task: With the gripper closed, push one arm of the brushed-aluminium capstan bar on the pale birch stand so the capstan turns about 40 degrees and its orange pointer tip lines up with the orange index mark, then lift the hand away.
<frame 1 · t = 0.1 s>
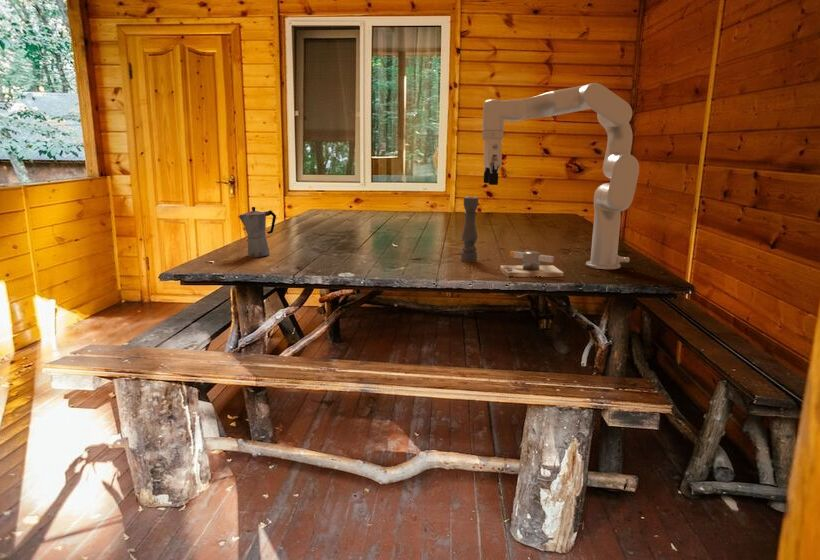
hand: (490, 183, 206), 31 cm above the table, fingers open, 9 cm apart
capstan: (531, 260, 203), point 5 cm above the table, hinge at -40.0°
stand: (530, 272, 204), on the table
moka pot: (259, 255, 231), on the table
candle holder: (468, 260, 225), on the table
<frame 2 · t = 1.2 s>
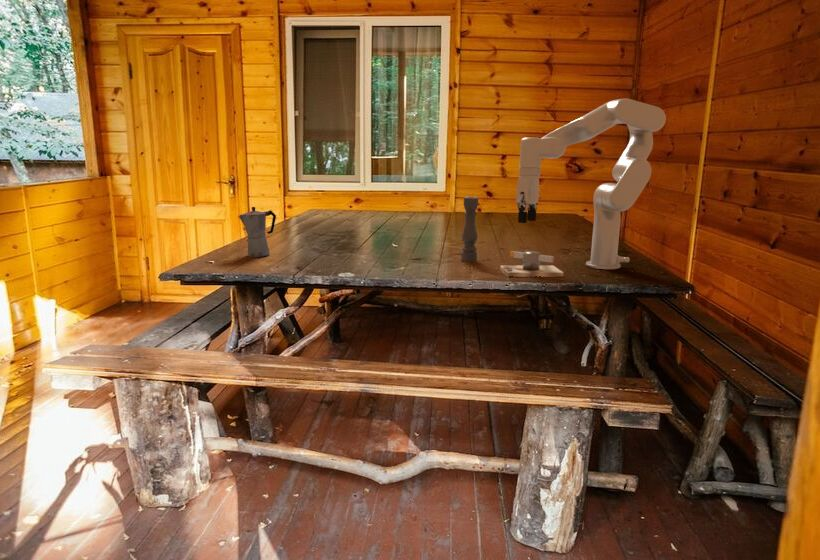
hand: (526, 221, 208), 18 cm above the table, fingers open, 6 cm apart
nothing on the table moved.
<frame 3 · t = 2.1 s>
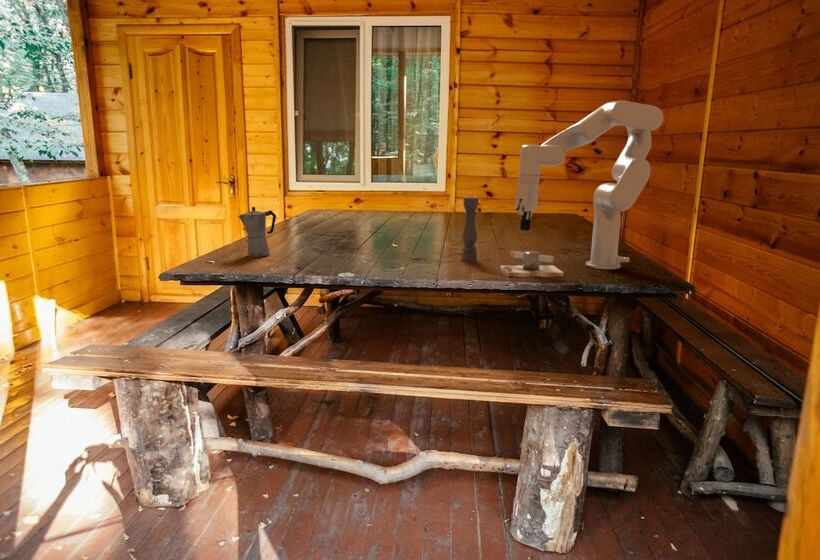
hand: (525, 229, 208), 15 cm above the table, fingers closed
nothing on the table moved.
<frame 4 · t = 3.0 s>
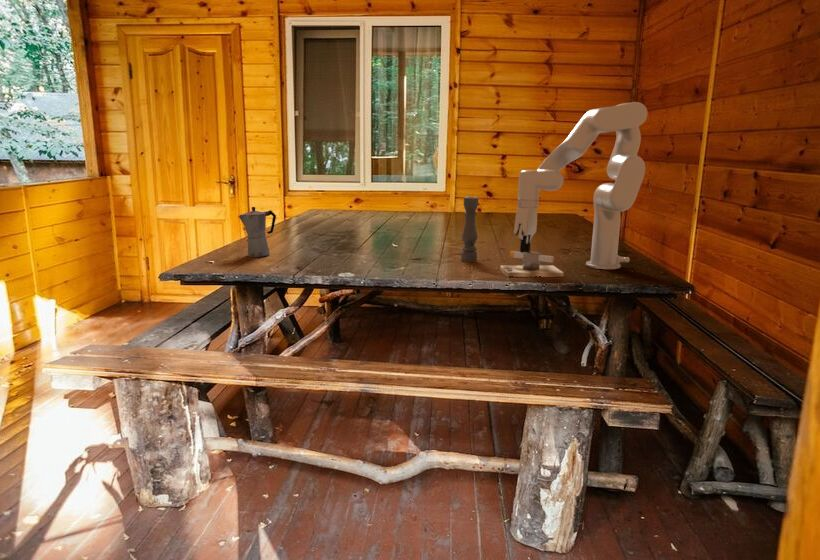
hand: (524, 253, 210), 6 cm above the table, fingers closed
nothing on the table moved.
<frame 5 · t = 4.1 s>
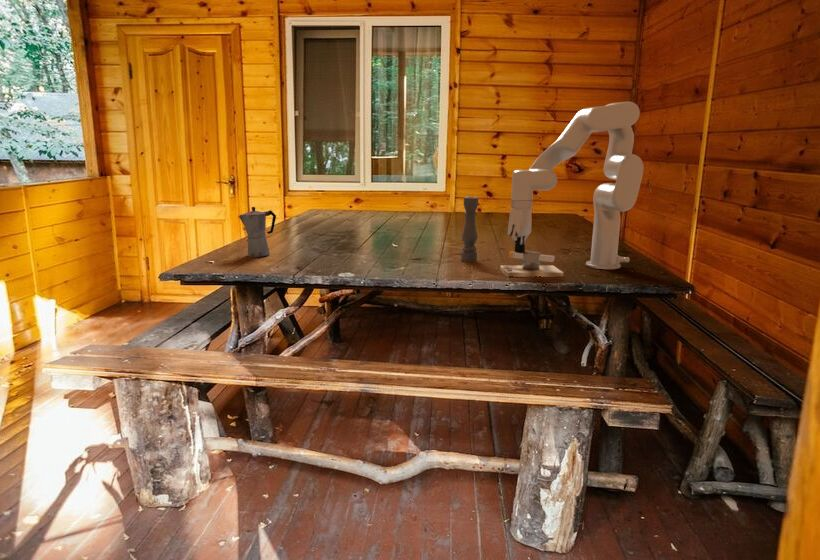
hand: (519, 254, 207), 6 cm above the table, fingers closed
capstan: (531, 260, 203), point 5 cm above the table, hinge at -32.8°, touching gripper
everything else where it was.
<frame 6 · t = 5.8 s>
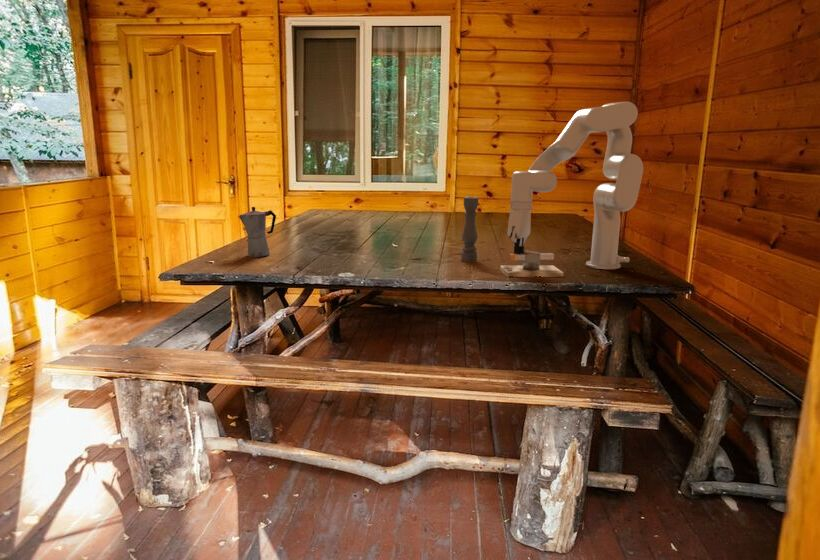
hand: (518, 256, 206), 5 cm above the table, fingers closed
capstan: (531, 260, 203), point 5 cm above the table, hinge at 5.9°
everything else where it was.
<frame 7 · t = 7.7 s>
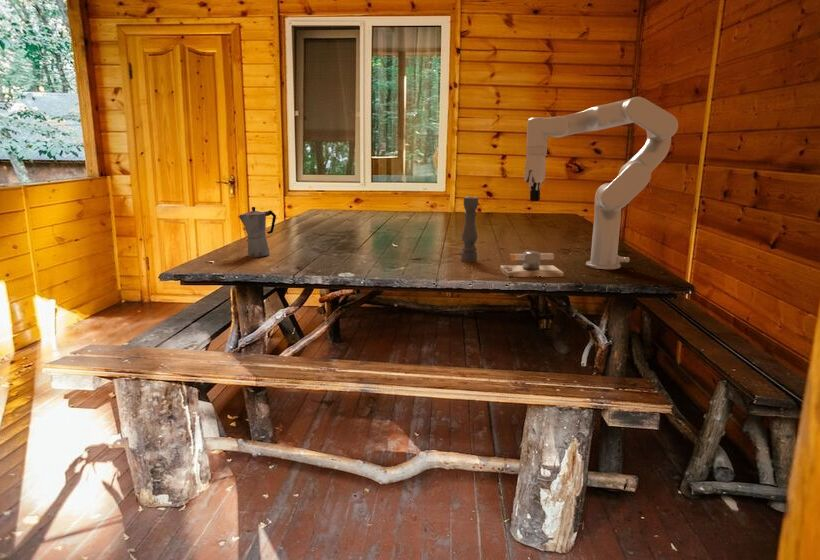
hand: (534, 200, 215), 24 cm above the table, fingers closed
nothing on the table moved.
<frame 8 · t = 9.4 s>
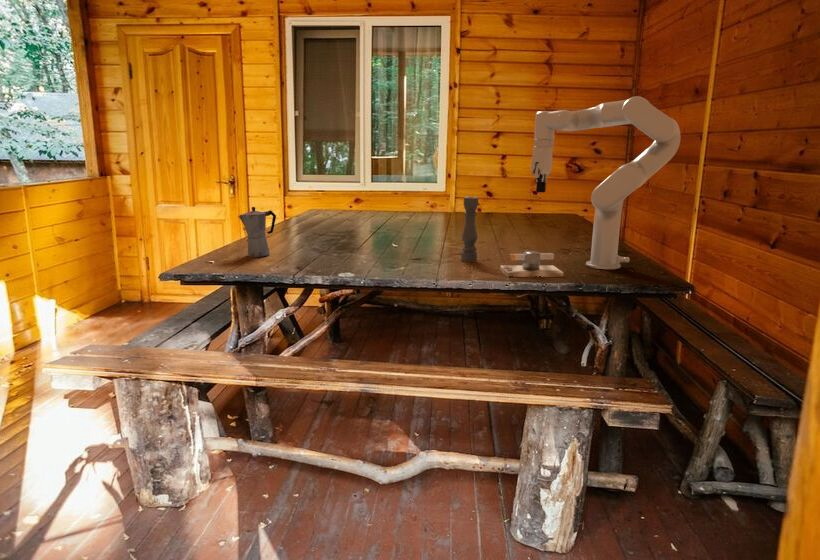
hand: (540, 192, 222), 27 cm above the table, fingers closed
nothing on the table moved.
at the end: capstan at +6° (first picture: -40°); candle holder moved 0.2 cm from its start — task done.
